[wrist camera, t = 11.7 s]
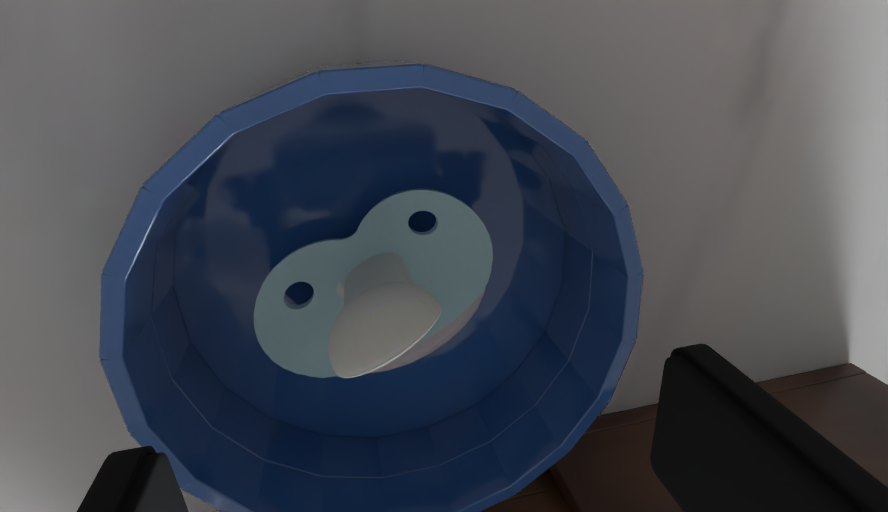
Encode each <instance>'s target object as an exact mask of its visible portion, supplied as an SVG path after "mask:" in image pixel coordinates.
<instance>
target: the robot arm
mask: <svg viewBox="0 0 888 512" xmlns="http://www.w3.org/2000/svg"><path fill="white" fill-rule="evenodd" d="M650 461H651V465H652V468H653V471H654V473H655V474H656V476H657V477H658V479H659V480H660V481H661V483H662V484H663V485H664V487H665V488H666V489H667V491H668V492H669V493H670V495H671V496H672V497H673V498H674V500H675V501H676V502H677V504H678V505H679V506H680V508H681V509H682V510H683V512H888V487H887V486H885V485H884V484H883V483H881V482H880V481H879V480H878V479H876V478H875V477H874V476H873V475H871V474H870V473H869V472H868V471H866V470H865V469H864V468H863V467H861V466H860V465H859V464H857V463H856V462H855V461H854V460H852V459H851V458H850V457H849V456H847V455H846V454H845V453H844V452H842V451H841V450H840V449H838V448H837V447H836V446H835V445H833V444H832V443H831V442H830V441H828V440H827V439H826V438H825V437H823V436H822V435H821V434H820V433H818V432H817V431H816V430H814V429H813V428H812V427H811V426H809V425H808V424H807V423H806V422H804V421H803V420H802V419H801V418H799V417H798V416H797V415H796V414H794V413H793V412H792V411H790V410H789V409H788V408H787V407H785V406H784V405H783V404H782V403H780V402H779V401H778V400H777V399H775V398H774V397H773V396H771V395H770V394H769V393H768V392H766V391H765V390H764V389H763V388H761V387H760V386H759V385H758V384H756V383H755V382H754V381H753V380H751V379H750V378H749V377H747V376H746V375H745V374H744V373H742V372H741V371H740V370H739V369H737V368H736V367H735V366H734V365H732V364H731V363H730V362H729V361H727V360H726V359H725V358H723V357H722V356H721V355H720V354H718V353H717V352H716V351H715V350H713V349H712V348H711V347H709V346H708V345H706V344H696V345H691V346H686V347H680V348H676V349H674V350H673V351H672V352H671V355H670V357H669V358H667V359H666V360H665V364H664V370H663V376H662V383H661V389H660V396H659V402H658V409H657V416H656V422H655V429H654V435H653V442H652V448H651V455H650ZM77 512H189V511H188V509H187V506H186V503H185V501H184V498H183V496H182V493H181V490H180V488H179V485H178V482H177V480H176V477H175V474H174V472H173V469H172V466H171V464H170V461H169V459H168V456H167V455H166V454H165V453H164V452H161V453H156V451H155V449H154V448H153V447H152V446H144V447H139V448H134V449H128V450H123V451H117V452H113V453H111V454H109V455H108V457H107V458H106V459H105V461H104V463H103V465H102V466H101V468H100V470H99V472H98V474H97V476H96V477H95V479H94V481H93V483H92V485H91V487H90V488H89V490H88V492H87V494H86V496H85V498H84V499H83V501H82V503H81V505H80V507H79V509H78V510H77Z"/></svg>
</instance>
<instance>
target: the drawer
mask: <svg viewBox="0 0 888 512" xmlns="http://www.w3.org/2000/svg"><path fill="white" fill-rule="evenodd" d="M481 512H572V511H571V509H570V507H569V505H568V503H567V501H566V500H565V498H564V496H563V494H562V492H561V490H560V488H559V487H558V485H557V483H556V481H555V479H554V477H553V475H552V473H551V472H550V473H546V474H541V475H540V476H539V477H538V478H536V479H535V480H534V481H532V482H531V483H530V484H529V485H527V486H526V487H525V488H524V489H522V490H521V491H520V492H519V493H516V495H514V496H512V497H510V498H508V499H506V500H504V501H501V502H499V503H497V504H495V505H493V506H491V507H489V508H487V509H485V510H483V511H481Z"/></svg>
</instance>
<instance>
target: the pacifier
mask: <svg viewBox="0 0 888 512" xmlns="http://www.w3.org/2000/svg"><path fill="white" fill-rule="evenodd" d="M418 211H428V212H431V213H432V214H434V215H435V217H436V223H435V225H434V227H433V228H432V229H430V230H429V231H426V232H417V231H414V230H412V229H411V228H410V227H409V226H408V220H409V218H410V216H411V215H412V214H413V213H415V212H418ZM492 261H493V250H492V243H491V239H490V235H489V233H488V231H487V229H486V227H485V225H484V223H483V222H482V221H481V219H480V218H479V217H478V216H477V214H476V213H475V212H474V211H473V210H472V209H471V208H470V207H469V206H467V205H466V204H465V203H464V202H463V201H461V200H459V199H457V198H456V197H454V196H452V195H450V194H447V193H445V192H441V191H438V190H434V189H421V188H420V189H409V190H404V191H400V192H397V193H395V194H392V195H390V196H388V197H386V198H385V199H383V200H381V201H380V202H379V203H378V204H376V205H375V206H374V207H373V208H372V209H371V210H370V211H369V212H368V213H367V215H366V216H365V217H364V218H363V220H362V221H361V223H360V225H359V227H358V229H357V230H356V232H355V233H353V234H352V235H350V236H348V237H346V238H342V239H339V238H337V239H325V240H320V241H316V242H312V243H310V244H307V245H305V246H302V247H300V248H298V249H296V250H295V251H293V252H291V253H290V254H288V255H287V256H285V257H284V258H283V259H282V260H281V261H280V262H279V263H278V264H277V265H276V266H275V267H274V268H273V269H272V271H271V272H270V273H269V274H268V276H267V277H266V279H265V281H264V282H263V284H262V286H261V289H260V291H259V293H258V296H257V299H256V303H255V309H254V329H255V332H256V336H257V339H258V342H259V344H260V345H261V347H262V349H263V351H264V352H265V353H266V354H267V355H268V356H269V357H270V358H271V360H272V361H273V362H275V363H276V364H278V365H279V366H281V367H282V368H284V369H287V370H289V371H291V372H294V373H296V374H302V375H306V376H309V377H319V378H327V377H334V376H339V377H342V378H353V377H357V376H361V375H364V374H368V373H375V372H382V371H388V370H391V369H395V368H398V367H401V366H404V365H407V364H410V363H412V362H414V361H416V360H418V359H420V358H422V357H424V356H426V355H428V354H430V353H432V352H433V351H435V350H436V349H438V348H439V347H441V346H442V345H443V344H445V343H446V342H448V341H449V340H450V339H451V338H452V337H454V336H455V335H456V334H457V333H458V332H459V331H460V330H461V329H462V328H463V327H464V326H465V325H466V324H467V322H468V321H469V320H470V318H471V317H472V316H473V314H474V313H475V311H476V310H477V309H478V306H479V304H480V302H481V299H482V297H483V295H484V292H485V287H486V285H487V283H488V281H489V277H490V273H491V266H492ZM296 282H307V283H309V284H310V285H311V286H312V287H313V289H314V293H313V295H312V297H311V298H310V299H309V300H308V301H307V302H305V303H304V304H300V305H293V304H290V303H289V302H287V300H286V299H285V295H284V293H285V291H286V290H287V288H288V287H289V286H290V285H292V284H294V283H296Z"/></svg>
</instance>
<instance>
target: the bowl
mask: <svg viewBox="0 0 888 512" xmlns="http://www.w3.org/2000/svg"><path fill="white" fill-rule="evenodd" d="M420 188H421V189H434V190H438V191H441V192H445V193H447V194H450V195H452V196H454V197H456V198H457V199H459V200H461V201H463V202H464V203H465V204H466V205H467V206H469V207H470V208H471V209H472V210H473V211H474V212H475V213H476V214H477V216H478V217H479V218H480V219H481V221H482V222H483V223H484V225H485V227H486V229H487V231H488V233H489V235H490V239H491V243H492V250H493V261H492V266H491V273H490V277H489V281H488V283H487V285H486V287H485V292H484V295H483V297H482V299H481V302H480V304H479V306H478V309H477V310H476V311H475V313H474V314H473V316H472V317H471V318H470V320H469V321H468V322H467V324H466V325H465V326H464V327H463V328H462V329H461V330H460V331H459V332H458V333H457V334H456V335H455V336H454V337H452V338H451V339H450V340H449V341H448V342H446V343H445V344H443V345H442V346H441V347H439V348H438V349H436V350H435V351H433V352H432V353H430V354H428V355H426V356H424V357H422V358H420V359H418V360H416V361H414V362H412V363H410V364H407V365H404V366H401V367H398V368H395V369H391V370H388V371H382V372H375V373H368V374H364V375H361V376H357V377H353V378H342V377H339V376H334V377H327V378H319V377H309V376H306V375H302V374H296V373H294V372H291V371H289V370H287V369H284V368H282V367H281V366H279V365H278V364H276V363H275V362H273V361H272V360H271V358H270V357H269V356H268V355H267V354H266V353H265V352H264V351H263V349H262V347H261V345H260V344H259V342H258V339H257V336H256V332H255V329H254V309H255V303H256V299H257V296H258V293H259V291H260V289H261V286H262V284H263V282H264V281H265V279H266V277H267V276H268V274H269V273H270V272H271V271H272V269H273V268H274V267H275V266H276V265H277V264H278V263H279V262H280V261H281V260H282V259H283V258H284V257H285V256H287V255H288V254H290V253H291V252H293V251H295V250H296V249H298V248H300V247H302V246H305V245H307V244H310V243H312V242H316V241H320V240H325V239H337V238H339V239H342V238H346V237H348V236H350V235H352V234H353V233H355V232H356V230H357V229H358V227H359V225H360V223H361V221H362V220H363V218H364V217H365V216H366V215H367V213H368V212H369V211H370V210H371V209H372V208H373V207H374V206H375V205H376V204H378V203H379V202H380V201H381V200H383V199H385V198H386V197H388V196H390V195H392V194H395V193H397V192H400V191H404V190H409V189H420ZM435 223H436V217H435V215H434V214H432V213H431V212H428V211H418V212H415V213H413V214H412V215H411V216H410V218H409V220H408V226H409V227H410V228H411V229H412V230H414V231H417V232H426V231H429V230H430V229H432V228H433V227H434V225H435ZM102 272H103V273H102V275H101V311H100V351H99V357H100V362H101V365H102V367H103V370H104V372H105V375H106V377H107V380H108V382H109V385H110V387H111V390H112V392H113V395H114V397H115V400H116V402H117V405H118V407H119V410H120V412H121V415H122V417H123V420H124V422H125V425H126V427H127V430H128V432H129V433H130V435H131V436H132V437H133V438H134V439H135V440H136V442H137V443H138V444H139V445H140V446H141V447H144V446H152V447H153V448H154V449H155V451H156V453H161V452H164V453H165V454H166V455H167V456H168V459H169V461H170V464H171V466H172V469H173V472H174V474H175V477H176V480H177V482H178V485H179V488H182V490H183V491H185V492H187V493H189V494H191V495H193V496H194V497H196V498H198V499H200V500H202V501H204V502H205V503H207V504H209V505H211V506H213V507H215V508H216V509H218V510H220V511H222V512H481V511H483V510H485V509H487V508H489V507H491V506H493V505H495V504H497V503H499V502H501V501H504V500H506V499H508V498H510V497H512V496H514V495H516V493H519V492H520V491H521V490H522V489H524V488H525V487H526V486H527V485H529V484H530V483H531V482H532V481H534V480H535V479H536V478H538V477H539V476H540V475H541V474H543V473H544V472H545V471H546V470H548V469H549V468H550V467H551V466H553V465H554V464H555V463H556V462H558V461H559V460H560V459H562V458H563V457H564V456H565V455H567V454H568V452H570V451H571V450H572V448H573V447H574V446H575V445H576V443H577V442H578V441H579V439H580V438H581V437H582V436H583V434H584V433H585V432H586V431H587V429H588V428H589V427H590V426H591V424H592V423H593V422H594V420H595V419H596V418H597V417H598V415H599V414H600V413H601V412H602V410H603V409H604V408H605V407H606V405H607V404H608V403H609V400H610V399H611V397H612V395H613V393H614V390H615V388H616V386H617V383H618V381H619V379H620V376H621V374H622V372H623V369H624V367H625V365H626V362H627V360H628V358H629V355H630V353H631V351H632V349H633V346H634V344H635V340H636V336H637V328H638V319H639V310H640V301H641V292H642V283H643V268H642V264H641V259H640V255H639V250H638V246H637V241H636V237H635V232H634V228H633V223H632V219H631V214H630V210H629V206H628V205H627V202H626V200H625V199H624V197H623V195H622V194H621V192H620V191H619V189H618V188H617V186H616V185H615V183H614V182H613V180H612V179H611V177H610V176H609V174H608V172H607V171H606V169H605V168H604V166H603V165H602V163H601V162H600V160H599V159H598V157H597V156H596V154H595V153H594V151H593V149H592V148H591V146H590V145H589V143H588V142H587V141H585V139H584V138H583V137H582V136H580V135H579V134H578V133H576V132H575V131H573V130H572V129H571V128H569V127H568V126H567V125H565V124H564V123H562V122H561V121H560V120H558V119H557V118H555V117H554V116H553V115H551V114H550V113H549V112H547V111H546V110H544V109H543V108H542V107H540V106H539V105H538V104H536V103H535V102H533V101H532V100H531V99H529V98H528V97H527V96H525V95H524V94H522V93H521V92H520V91H517V90H515V89H514V88H510V87H507V86H503V85H500V84H496V83H492V82H489V81H485V80H482V79H478V78H475V77H471V76H467V75H464V74H460V73H457V72H453V71H449V70H446V69H442V68H439V67H435V66H432V65H428V64H422V63H412V62H402V61H389V62H374V63H357V64H345V65H330V66H321V67H317V68H315V69H312V70H310V71H308V72H305V73H303V74H301V75H298V76H296V77H294V78H291V79H289V80H287V81H284V82H282V83H280V84H277V85H275V86H273V87H270V88H268V89H266V90H263V91H261V92H259V93H256V94H254V95H252V96H249V97H247V98H246V99H244V100H242V101H240V102H238V103H236V104H235V105H233V106H231V107H229V108H227V109H225V110H223V111H222V112H220V113H219V114H217V115H215V116H214V117H213V118H212V119H211V120H210V121H209V122H208V123H207V124H206V125H205V126H204V127H203V128H202V129H201V130H200V131H198V132H197V133H196V134H195V135H194V136H193V137H192V138H191V139H190V140H189V141H188V142H187V143H186V144H185V145H184V146H183V147H182V148H180V149H179V150H178V151H177V152H176V153H175V154H174V155H173V156H172V157H171V158H170V159H169V160H168V161H167V162H166V163H165V164H164V165H163V166H161V167H160V168H159V169H158V170H157V171H156V172H155V173H154V174H153V175H152V176H151V177H150V178H149V179H148V180H147V181H146V182H145V183H144V184H143V186H142V187H141V188H140V190H139V192H138V194H137V196H136V198H135V201H134V203H133V205H132V207H131V209H130V211H129V214H128V216H127V218H126V220H125V222H124V224H123V227H122V229H121V231H120V233H119V235H118V237H117V240H116V242H115V244H114V246H113V248H112V250H111V253H110V255H109V257H108V259H107V261H106V263H105V266H104V268H103V270H102ZM313 293H314V289H313V287H312V286H311V285H310V284H309V283H307V282H296V283H294V284H292V285H290V286H289V287H288V288H287V290H286V291H285V293H284V295H285V299H286V300H287V302H289V303H290V304H293V305H300V304H304V303H305V302H307V301H308V300H309V299H310V298H311V297H312V295H313Z"/></svg>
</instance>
